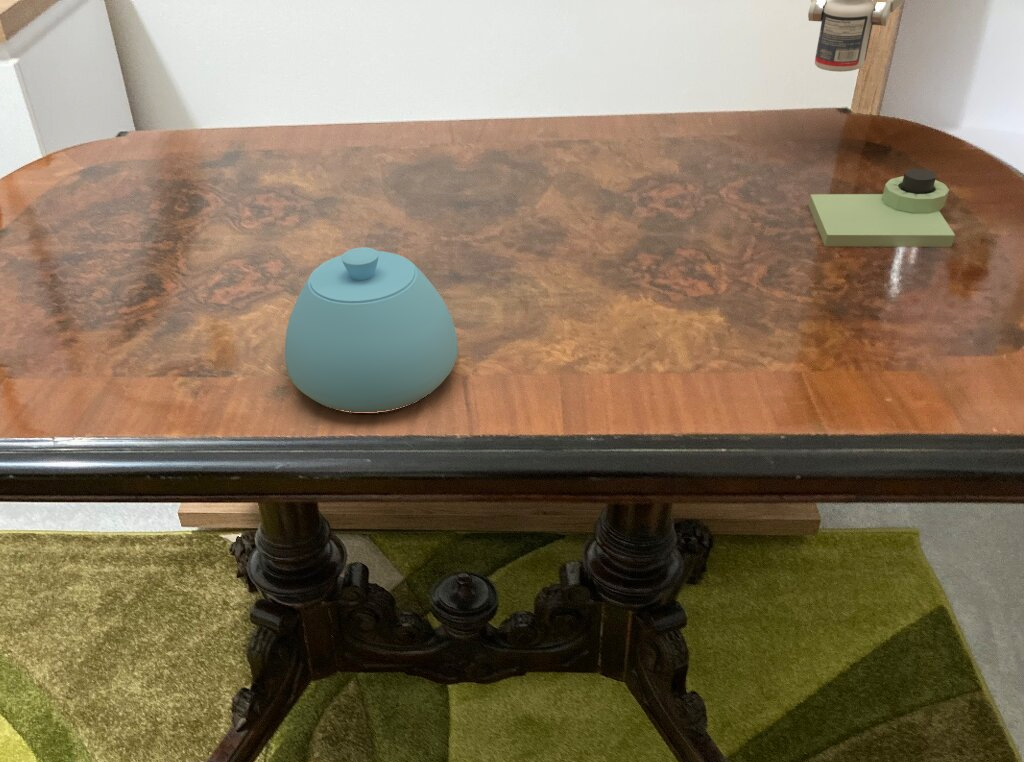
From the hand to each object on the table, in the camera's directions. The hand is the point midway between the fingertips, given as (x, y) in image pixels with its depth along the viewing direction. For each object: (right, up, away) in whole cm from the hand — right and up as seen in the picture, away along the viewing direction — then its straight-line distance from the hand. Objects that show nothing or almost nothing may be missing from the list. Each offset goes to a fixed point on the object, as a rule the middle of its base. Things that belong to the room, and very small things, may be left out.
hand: (846, 20), depth 100 cm
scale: (+1, -23, -4) cm, 24 cm away
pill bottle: (+1, -4, +4) cm, 5 cm away
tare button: (+6, -20, -4) cm, 21 cm away
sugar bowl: (-51, -40, -19) cm, 68 cm away
